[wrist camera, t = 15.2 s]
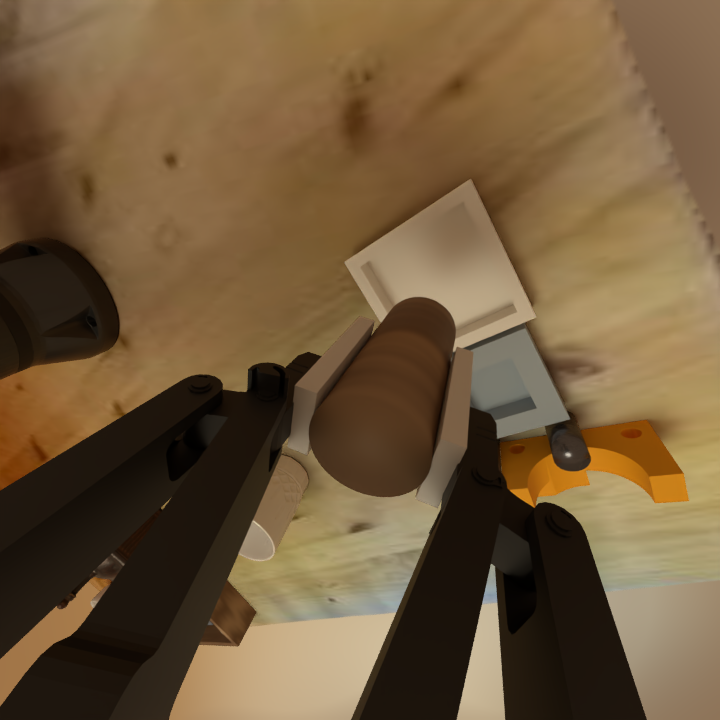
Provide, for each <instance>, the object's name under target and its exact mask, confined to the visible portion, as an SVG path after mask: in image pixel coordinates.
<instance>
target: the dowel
mask: <svg viewBox="0 0 720 720" xmlns="http://www.w3.org/2000/svg"><path fill="white" fill-rule="evenodd" d="M455 337H456V327H455V323H454V320H453V317H452V316H451V314H450V312H449V311H448V310H447V309H446V308H445V307H444V306H443V305H442V304H440V303H439V302H437V301H435V300H432V299H430V298H425V297H412V298H408V299H405V300H402V301H401V302H399V303H397V304H396V305H395V306H394V307H393V308H392V309H391V310H390V312H389V313H388V314H387V316H386V317H385V318H384V320H383V321H382V322H381V324H380V325H379V326H378V328H377V329H376V330H375V332H374V333H373V335H372V336H371V337H370V339H369V340H368V341H367V343H366V344H365V345H364V347H363V348H362V349H361V351H360V352H359V353H358V355H357V356H356V357H355V359H354V360H353V362H352V363H351V364H350V366H349V367H348V368H347V370H346V371H345V372H344V374H343V375H342V376H341V378H340V379H339V380H338V382H337V383H336V385H335V386H334V387H333V389H332V390H331V391H330V393H329V394H328V395H327V397H326V398H325V399H324V401H323V402H322V403H321V405H320V406H319V407H318V409H317V410H316V412H315V413H314V415H313V416H312V419H311V421H310V425H309V441H310V445H311V448H312V451H313V453H314V455H315V457H316V459H317V460H318V462H319V463H320V465H321V466H322V467H323V468H324V469H325V470H326V471H327V472H328V473H329V474H330V475H331V476H332V477H333V478H334V479H336V480H337V481H338V482H340V483H341V484H343V485H345V486H346V487H348V488H350V489H353V490H355V491H357V492H360V493H363V494H367V495H371V496H377V497H394V496H400V495H403V494H406V493H409V492H411V491H413V490H414V489H416V488H417V487H418V486H420V485H421V484H422V483H423V481H424V480H425V479H426V477H427V475H428V474H429V471H430V468H431V462H432V456H433V451H434V446H435V441H436V435H437V430H438V425H439V420H440V415H441V409H442V404H443V399H444V394H445V389H446V383H447V378H448V373H449V368H450V363H451V358H452V353H453V348H454V342H455Z"/></svg>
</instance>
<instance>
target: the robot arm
mask: <svg viewBox="0 0 720 720" xmlns="http://www.w3.org/2000/svg"><path fill="white" fill-rule="evenodd" d="M374 322H375V321H374V320H371V319H368V318H365V317H361V316H359V317H358V318H357V319H356V321H355V322H354V323H353V324H352V325H351V326H350V327H349V328H348V329H347V330H346V331H345V332H344V333H343V334H342V335H341V337H340V338H339V339H338V340H337V341H336V342H335V343H334V344H333V345H332V346H331V347H330V348H329V349H328V350H327V351H326V353H325V354H324V355H323V356H319V355H316V354H313V353H310V352H307V353H304V354H301V355H298V356H297V357H296V358H295V359H294V360H293V361H292V362H291V363H290V364H289V365H287V366H286V368H284V367H283V366H281V365H278V364H275V363H259V364H256V365H253V366H252V367H250V368H249V369H248V390H247V392H236V391H229V390H223V384H222V382H221V380H220V379H218V378H216V377H215V376H211V375H200V374H199V375H194V376H190V377H188V378H185V379H183V380H182V381H180V382H178V383H177V384H175V385H173V386H172V387H170V388H168V389H167V390H165V391H163V392H162V393H160V394H158V395H157V396H155V397H154V398H152V399H150V400H149V401H147V402H145V403H144V404H142V405H140V406H139V407H137V408H135V409H134V410H132V411H131V412H129V413H127V414H126V415H124V416H122V417H121V418H119V419H117V420H116V421H114V422H112V423H111V424H109V425H107V426H106V427H104V428H103V429H101V430H99V431H98V432H96V433H94V434H93V435H91V436H89V437H88V438H86V439H84V440H83V441H81V442H80V443H78V444H76V445H75V446H73V447H71V448H70V449H68V450H66V451H65V452H63V453H61V454H60V455H58V456H56V457H55V458H53V459H52V460H50V461H48V462H47V463H45V464H43V465H42V466H40V467H38V468H37V469H35V470H33V471H32V472H30V473H28V474H27V475H25V476H24V477H22V478H20V479H19V480H17V481H15V482H14V483H12V484H10V485H9V486H7V487H5V488H4V489H2V490H1V491H0V659H1V658H2V657H3V656H4V655H5V654H6V653H7V652H8V651H9V650H10V649H11V648H12V647H13V646H14V645H15V644H16V643H18V642H19V641H20V640H21V639H22V638H23V637H24V636H25V635H26V634H27V633H28V632H29V631H30V630H31V629H32V628H33V627H35V626H36V625H37V624H38V623H39V622H40V621H41V620H42V619H43V618H44V617H45V616H46V615H47V614H48V613H49V612H50V611H52V610H53V609H54V608H55V607H56V606H57V605H58V604H59V603H60V602H61V601H62V600H63V599H64V598H65V597H66V596H67V595H68V594H70V593H71V592H72V591H73V590H74V589H75V588H76V587H77V586H78V585H79V584H80V583H81V582H82V581H83V580H84V579H85V578H86V577H88V576H89V575H90V574H91V573H92V572H93V571H94V570H95V569H96V568H97V567H98V566H99V565H100V564H101V563H102V562H103V561H105V560H106V559H107V558H108V557H109V556H110V555H111V554H112V553H113V552H114V551H115V550H116V549H117V548H118V547H119V546H120V545H121V544H123V543H124V542H125V541H126V540H127V539H128V538H129V537H130V536H131V535H132V534H133V533H134V532H135V531H136V530H137V529H138V528H140V527H141V526H142V525H143V524H144V523H145V522H146V521H147V520H148V519H149V518H150V517H151V516H152V515H153V514H154V513H155V512H156V511H158V510H159V509H160V508H161V507H162V506H163V505H164V504H165V503H166V502H167V501H168V500H169V499H170V498H171V497H172V498H171V499H170V501H169V502H168V503H167V505H166V506H165V508H164V509H163V511H162V512H161V513H160V515H159V516H158V518H157V519H156V520H155V522H154V523H153V525H152V526H151V528H150V529H149V530H148V532H147V533H146V535H145V536H144V537H143V539H142V540H141V542H140V543H139V545H138V546H137V547H136V549H135V550H134V552H133V553H132V554H131V556H130V557H129V559H128V560H127V561H126V563H125V564H124V566H123V567H122V569H121V570H120V571H119V573H118V574H117V576H116V577H115V578H114V580H113V581H112V583H111V584H110V586H109V587H108V588H107V590H106V591H105V593H104V594H103V595H102V597H101V598H100V600H99V601H98V603H97V604H96V605H95V607H94V608H93V610H92V611H91V612H90V614H89V615H88V617H87V618H86V620H85V621H84V622H83V623H82V625H81V626H80V627H79V628H78V630H77V631H75V632H74V633H73V634H72V635H71V636H69V637H67V638H65V639H63V640H61V641H59V642H56V643H54V644H53V645H52V646H51V647H49V648H48V649H47V650H46V651H45V652H44V653H43V654H41V655H40V657H39V658H38V659H37V660H36V661H35V662H34V664H33V665H32V666H31V667H30V668H29V670H28V671H27V672H26V673H25V674H24V676H23V677H22V679H21V680H20V681H19V682H18V684H17V685H16V686H15V688H14V689H13V691H12V692H11V693H10V694H9V696H8V697H7V698H6V700H5V701H4V702H3V704H2V705H1V706H0V720H169V716H170V712H171V710H172V707H173V704H174V701H175V699H176V696H177V694H178V692H179V690H180V687H181V685H182V682H183V680H184V678H185V676H186V673H187V671H188V669H189V667H190V664H191V662H192V660H193V657H194V655H195V653H196V650H197V648H198V646H199V643H200V641H201V639H202V637H203V634H204V632H205V630H206V627H207V625H208V623H209V620H210V618H211V616H212V613H213V611H214V609H215V607H216V604H217V602H218V600H219V597H220V595H221V593H222V590H223V588H224V586H225V583H226V581H227V579H228V576H229V574H230V572H231V570H232V567H233V565H234V563H235V560H236V558H237V556H238V553H239V551H240V549H241V546H242V544H243V542H244V540H245V537H246V535H247V533H248V530H249V528H250V526H251V523H252V521H253V519H254V516H255V514H256V512H257V510H258V507H259V505H260V503H261V500H262V498H263V496H264V493H265V491H266V489H267V486H268V484H269V482H270V479H271V477H272V475H273V473H274V470H275V468H276V466H277V463H278V461H279V459H280V456H281V451H282V445H283V443H284V442H285V441H286V440H287V438H288V437H289V440H288V448H290V449H293V450H295V451H298V452H300V453H303V454H305V455H308V453H309V451H310V450H311V445H310V441H309V425H310V421H311V419H312V416H313V415H314V413H315V412H316V410H317V409H318V407H319V406H320V405H321V403H322V402H323V401H324V399H325V398H326V397H327V395H328V394H329V393H330V391H331V390H332V389H333V387H334V386H335V385H336V383H337V382H338V380H339V379H340V378H341V376H342V375H343V374H344V372H345V371H346V370H347V368H348V367H349V366H350V364H351V363H352V362H353V360H354V359H355V357H356V356H357V355H358V353H359V352H360V351H361V349H362V348H363V347H364V345H365V344H366V343H367V341H368V340H369V339H370V337H371V334H372V330H373V326H374ZM117 335H118V318H117V313H116V309H115V306H114V303H113V301H112V298H111V296H110V294H109V292H108V290H107V288H106V287H105V285H104V283H103V282H102V280H101V279H100V277H99V276H98V274H97V273H96V272H95V271H94V269H93V268H92V267H91V266H90V265H89V264H88V263H87V262H86V261H85V260H84V259H83V258H82V257H81V256H80V255H79V254H78V253H76V252H75V251H74V250H72V249H71V248H69V247H68V246H66V245H64V244H62V243H60V242H58V241H55V240H52V239H46V238H40V239H32V240H25V241H19V242H16V243H13V244H11V245H9V246H7V247H5V248H3V249H1V250H0V379H3V378H5V377H8V376H10V375H12V374H15V373H17V372H20V371H22V370H25V369H27V368H30V367H32V366H36V365H44V364H51V363H59V362H66V361H74V360H81V359H87V358H91V357H94V356H96V355H98V354H100V353H103V352H105V351H107V350H109V349H110V348H111V347H112V346H113V345H114V343H115V341H116V339H117ZM472 366H473V352H472V351H469V350H466V349H463V348H460V347H456V350H455V353H454V355H453V358H452V360H451V363H450V368H449V373H448V378H447V383H446V389H445V394H444V399H443V404H442V409H441V415H440V420H439V425H438V430H437V435H436V441H435V446H434V451H433V456H432V462H431V468H430V471H429V474H428V475H427V477H426V479H425V480H424V481H423V483H422V484H421V485H420V486H418V489H417V493H416V498H415V499H417V500H419V501H422V502H424V503H426V504H429V505H431V506H434V507H436V508H438V506H439V504H440V502H441V500H442V504H441V510H440V512H439V514H438V516H437V518H436V520H435V522H434V524H433V526H432V528H431V530H430V532H429V534H430V535H429V537H428V539H427V542H426V544H425V546H424V549H423V551H422V553H421V556H420V558H419V561H418V563H417V565H416V568H415V570H414V572H413V575H412V577H411V579H410V582H409V584H408V587H407V589H406V591H405V594H404V596H403V598H402V601H401V603H400V605H399V608H398V610H397V613H396V615H395V617H394V620H393V622H392V624H391V627H390V629H389V632H388V634H387V636H386V639H385V641H384V643H383V646H382V648H381V650H380V653H379V655H378V658H377V660H376V662H375V665H374V667H373V669H372V672H371V674H370V676H369V679H368V681H367V684H366V686H365V688H364V691H363V693H362V696H361V698H360V700H359V702H358V705H357V707H356V710H355V712H354V714H353V717H352V719H351V720H456V719H457V715H458V710H459V705H460V701H461V697H462V692H463V688H464V683H465V678H466V673H467V670H468V665H469V660H470V656H471V651H472V647H473V642H474V637H475V633H476V629H477V624H478V619H479V614H480V610H481V605H482V601H483V597H484V592H485V588H486V583H487V578H488V574H489V569H490V565H491V564H493V565H494V566H495V573H496V588H497V603H498V617H499V632H500V646H501V662H502V676H503V691H504V706H505V720H647V719H646V716H645V713H644V710H643V707H642V704H641V701H640V698H639V695H638V692H637V688H636V686H635V682H634V679H633V676H632V673H631V670H630V667H629V664H628V661H627V658H626V655H625V652H624V649H623V646H622V643H621V640H620V637H619V634H618V631H617V628H616V625H615V622H614V619H613V615H612V612H611V609H610V607H609V604H608V600H607V597H606V594H605V591H604V588H603V585H602V582H601V579H600V576H599V573H598V570H597V567H596V564H595V561H594V558H593V555H592V552H591V549H590V546H589V543H588V540H587V536H586V533H585V532H584V530H583V528H582V526H581V524H580V523H579V522H578V521H577V520H576V518H575V517H574V516H573V515H572V514H570V513H569V512H568V511H566V510H565V509H564V508H562V507H559V506H557V505H555V504H552V503H547V502H543V503H538V504H537V506H536V507H535V508H534V507H532V506H531V505H529V504H528V503H526V502H525V501H523V500H521V499H520V498H518V497H517V496H516V495H514V494H513V493H512V492H511V491H510V490H509V489H508V488H507V481H506V479H505V477H504V476H503V474H502V473H501V472H500V471H499V463H498V443H497V424H496V422H495V420H494V419H493V417H492V415H491V414H490V413H487V412H484V411H481V410H478V409H476V408H473V407H470V395H471V381H472Z"/></svg>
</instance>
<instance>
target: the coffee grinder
mask: <svg viewBox="0 0 720 720" xmlns="http://www.w3.org/2000/svg"><path fill="white" fill-rule="evenodd" d="M162 511H163V510H162V509H161V508H160V509H159V510H158V511H156V512H155V513H154V514H153V515H152V516H151V517H150V518H149V519H148V520H147V521H146V522H145V523H144V524H143V525H142V526H141V527H140V528H138V529H137V530H136V531H135V532H134V533H133V534H132V535H131V536H130V537H129V538H128V539H127V540H126V541H125V542H124V543H123V544H121V545H120V546H119V547H118V548H117V549H116V550H115V551H114V552H113V553H112V554H111V555H110V556H109V557H108V558H107V559H106V560H105V561H103V562H102V563H101V564H100V565H99V566H98V567H97V568H96V569H95V570H94V571H93V572H92V573H91V574H90V575H89V576H88V577H86V578H85V579H84V580H83V581H82V582H81V583H80V584H79V585H78V586H77V587H76V588H75V589H74V590H73V591H72V592H71V593H70V594H68V595H67V596H66V597H65V598H64V599H63V600H62V601H61V602H60V603H59V604H58V605H57V608H59V609H63V608H65V607H66V606H67V605H68V603H69V601H72V600H73V599H74V598H75V597H76V594H77V593H78V591H79V590H80V589H81V588H82V587H83V586H84V585H85V584H86V583H87V582H88V581H89V580H90V579H91V578H93V577H97V578H102V579H110V580H111V581H113V580H114V578H115V577H116V576H117V574H118V573H119V571H120V570H121V569H122V567H123V566H124V564H125V563H126V561H127V560H128V559H129V557H130V556H131V554H132V553H133V552H134V550H135V549H136V547H137V546H138V545H139V543H140V542H141V540H142V539H143V537H144V536H145V535H146V533H147V532H148V530H149V529H150V528H151V526H152V525H153V523H154V522H155V520H156V519H157V518H158V516H159V515H160V513H161V512H162Z"/></svg>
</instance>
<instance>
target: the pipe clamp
mask: <svg viewBox="0 0 720 720" xmlns="http://www.w3.org/2000/svg"><path fill="white" fill-rule="evenodd" d="M581 433H582V436H583V438H584V441H585V443H586V446H587V448H588V451H589V453H590V456H591V462H590V464H589V465H588V467H586V468H585V469H583V470H580V471H574V472H572V471H565V470H563V469H560V468H559V467H558V466H556V464H555V463H554V460H553V456H552V452H551V448H550V444H549V441H548V437H547V435H546V436H539V437H533V438H526V439H520V440H513V441H507V442H501V443H500V451H501V466H502V474H503V476H504V477H505V479H506V481H507V488H508V489H509V490H510V491H511V492H512V493H513V494H514V495H516V496H517V497H518V498H520V499H521V500H523V501H525V502H526V503H528V504H529V505H531V506H532V507H534V508H535V507H536V500H537V497H540V496H552V495H557V494H558V493H560V492H562V491H564V490H567V489H570V488H573V487H578V486H586V485H590V484H589V480H588V477H587V474H586V470H593V471H603V472H608V473H612V474H616V475H619V476H622V477H624V478H626V479H629V480H631V481H632V482H634V483H636V484H637V485H639V486H640V487H641V488H643V489H644V490H645V491H646V492H647V493H648V494H649V495H650V496H651V498H652V499H653V500H654V502H655V503H666V502H681V501H689V499H688V494H687V489H686V483H685V478H684V473H683V472H682V470H681V469H680V468H679V466H678V465H677V463H676V462H675V460H674V459H673V457H672V456H671V454H670V453H669V452H668V450H667V449H666V447H665V446H664V444H663V443H662V441H661V440H660V438H659V437H658V436H657V434H656V433H655V431H654V430H653V428H652V427H651V425H650V424H649V422H648V421H647V420H642V421H635V422H629V423H623V424H616V425H610V426H603V427H597V428H590V429H584V430H581Z"/></svg>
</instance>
